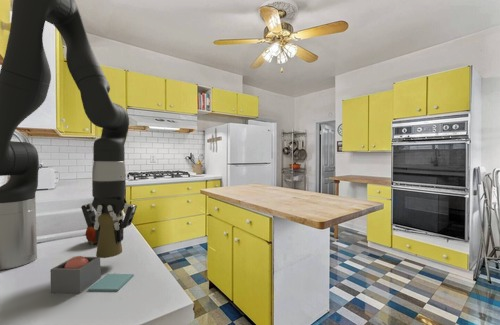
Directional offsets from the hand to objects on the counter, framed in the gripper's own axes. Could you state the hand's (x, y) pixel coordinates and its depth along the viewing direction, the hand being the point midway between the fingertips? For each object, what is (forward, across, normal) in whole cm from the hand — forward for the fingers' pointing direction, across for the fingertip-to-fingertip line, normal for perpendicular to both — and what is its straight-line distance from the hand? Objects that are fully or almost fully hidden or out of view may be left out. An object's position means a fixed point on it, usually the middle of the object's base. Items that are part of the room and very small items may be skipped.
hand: (109, 242), depth 62 cm
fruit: (+7, -14, +17) cm, 23 cm away
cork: (+3, 0, 0) cm, 3 cm away
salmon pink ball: (+5, -2, -9) cm, 11 cm away
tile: (+6, +6, -8) cm, 12 cm away
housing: (+6, -2, -9) cm, 11 cm away
